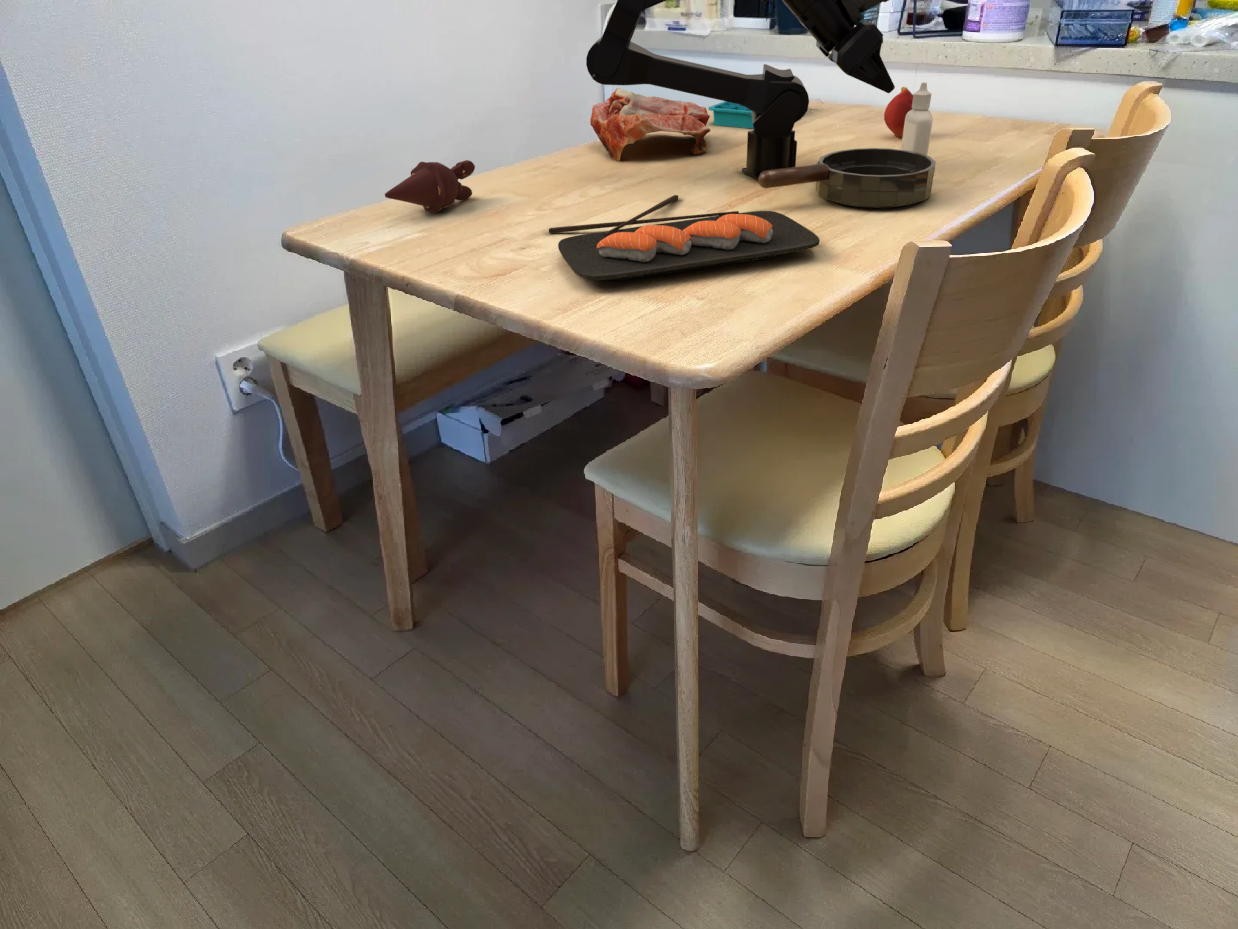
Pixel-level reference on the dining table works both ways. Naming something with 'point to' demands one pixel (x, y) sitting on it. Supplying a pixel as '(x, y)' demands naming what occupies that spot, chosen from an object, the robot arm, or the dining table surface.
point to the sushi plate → (680, 243)
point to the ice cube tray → (732, 115)
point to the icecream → (434, 185)
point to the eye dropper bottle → (918, 123)
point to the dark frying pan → (876, 177)
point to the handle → (793, 175)
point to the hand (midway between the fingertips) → (884, 84)
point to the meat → (646, 120)
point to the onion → (898, 111)
